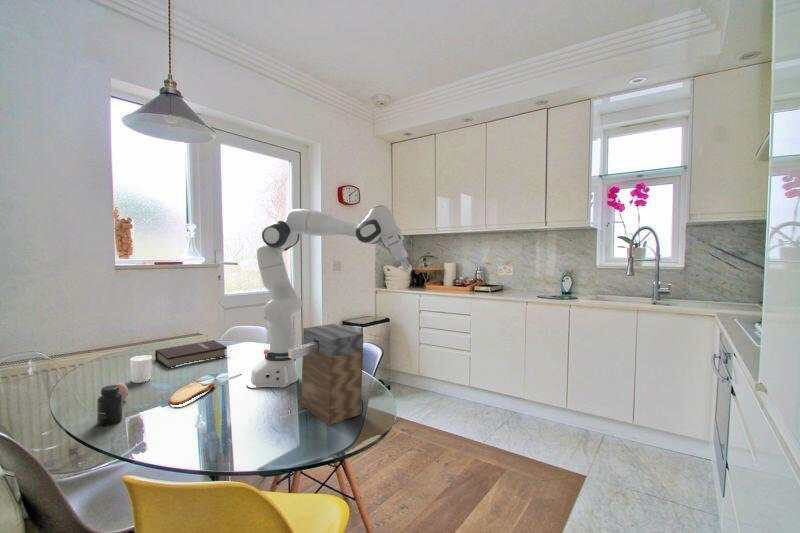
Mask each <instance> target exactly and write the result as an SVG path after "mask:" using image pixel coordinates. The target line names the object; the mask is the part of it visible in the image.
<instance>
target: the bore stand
mask: <svg viewBox="0 0 800 533" xmlns="http://www.w3.org/2000/svg"><path fill="white" fill-rule="evenodd" d="M302 330H303V331H302V333H303V335H302V336H303V337H302V345H304V344H307V343H311V342H314V341H319V351H318V352H315V353H312V354H308V355H305V356H302V370H301V371H302V373H301V376H302V377H301V406H302V405H303V406H304V407H305V408H304V407H303V406H302V407H303V408H304V409H306V408H307V409H308V410H309V411H308V410H307V409H306V410H307V411H308V412H310V411H311V412H312V413H313V414H312V413H311V412H310V413H311V414H312V415H314V416H315V417H317V418H318V420H320V421H322V422H323V423H324V422H325V423H324V424H325V425H327V424H328V425H329V426H331V425H330V424H332V425H334V423H335V424H337V422H338V423H340V422H343V421H345V420H348V419H351V418H353V417H357V416H359V415H361V414H362V411H361V410H362V388H363V386H362V385H363V383H362V382H363V364H364V363H363V358H364V356H363V355H364V333H361V332H359V331H356V330H354V329H350V328H347V327H345V326H343V325H339V324H336V323H331V324H323V325H316V326H310V327H303V329H302ZM328 425H327V426H328Z"/></svg>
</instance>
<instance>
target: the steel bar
mask: <svg viewBox="0 0 800 533" xmlns="http://www.w3.org/2000/svg"><path fill="white" fill-rule="evenodd" d="M318 351H319V341H314V342H311V343H307V344H304V345H303V344H300V345H297V346H295V347H294V348H290V349H288V355H289V358H291V359H296V360H297V359H298V358H303V356H305V355H308V354H312V353H315V352H318Z"/></svg>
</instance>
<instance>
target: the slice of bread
mask: <svg viewBox="0 0 800 533" xmlns="http://www.w3.org/2000/svg"><path fill="white" fill-rule="evenodd" d="M201 383H202V382H199V381H198V382H197V381H193V382H191V383H189V384H187V385H184V386H182V387H181V388H179V389H177V390H176V391H174V393H173V395H171V396H170V398H169V400H168V404H169V403H170V404H172V405H179V404H183V403H185V402H187V401H189V400H191V399H192V398H194V397H196V396H198V395H200V394H202V393H204V392H206V391H208V390H209V389H211V388H212V387H213V386H214V385H215V383H214V382H209V383H210V384H209V383H208V384H209V385H207V386H202V385H201Z"/></svg>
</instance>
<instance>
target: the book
mask: <svg viewBox="0 0 800 533" xmlns="http://www.w3.org/2000/svg"><path fill="white" fill-rule="evenodd" d="M227 349H228V347H227V346H225V345H224V344H222V343H220V342H218V341H217V340H215V339H213V340H208V341H206V340H205V341H200V342H195V343H188V344H183V345H178V346H171V347H165V348H160V349H155V353H154V357H155V360H156V361H157V362H158V361H159V362H160V363H161V364H160V363H159V362H158V363H159V364H160V365H162V364H163V365H164V366H165V367H166V368H165V367H164V366H163V365H162V366H163V367H164V368H165V369H167V368H171V367H175V366H176V365H180V364H184V363H189V362H194V361H199V360H206V359H211V358H220V357H224V358H226V357H225V356H227V355H226V353H225V352H226V350H227ZM220 359H221V358H220ZM171 369H172V368H171Z"/></svg>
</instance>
